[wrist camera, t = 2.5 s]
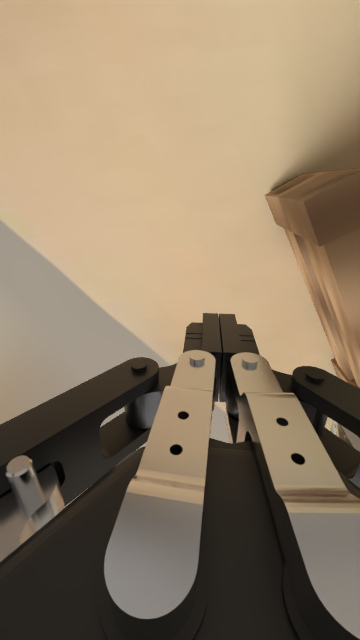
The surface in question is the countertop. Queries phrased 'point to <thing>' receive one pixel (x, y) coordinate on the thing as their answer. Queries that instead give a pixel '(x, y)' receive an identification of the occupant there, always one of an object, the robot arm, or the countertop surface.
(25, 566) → the robot arm
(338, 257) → the gate
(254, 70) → the countertop surface
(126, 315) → the countertop surface
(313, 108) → the countertop surface
